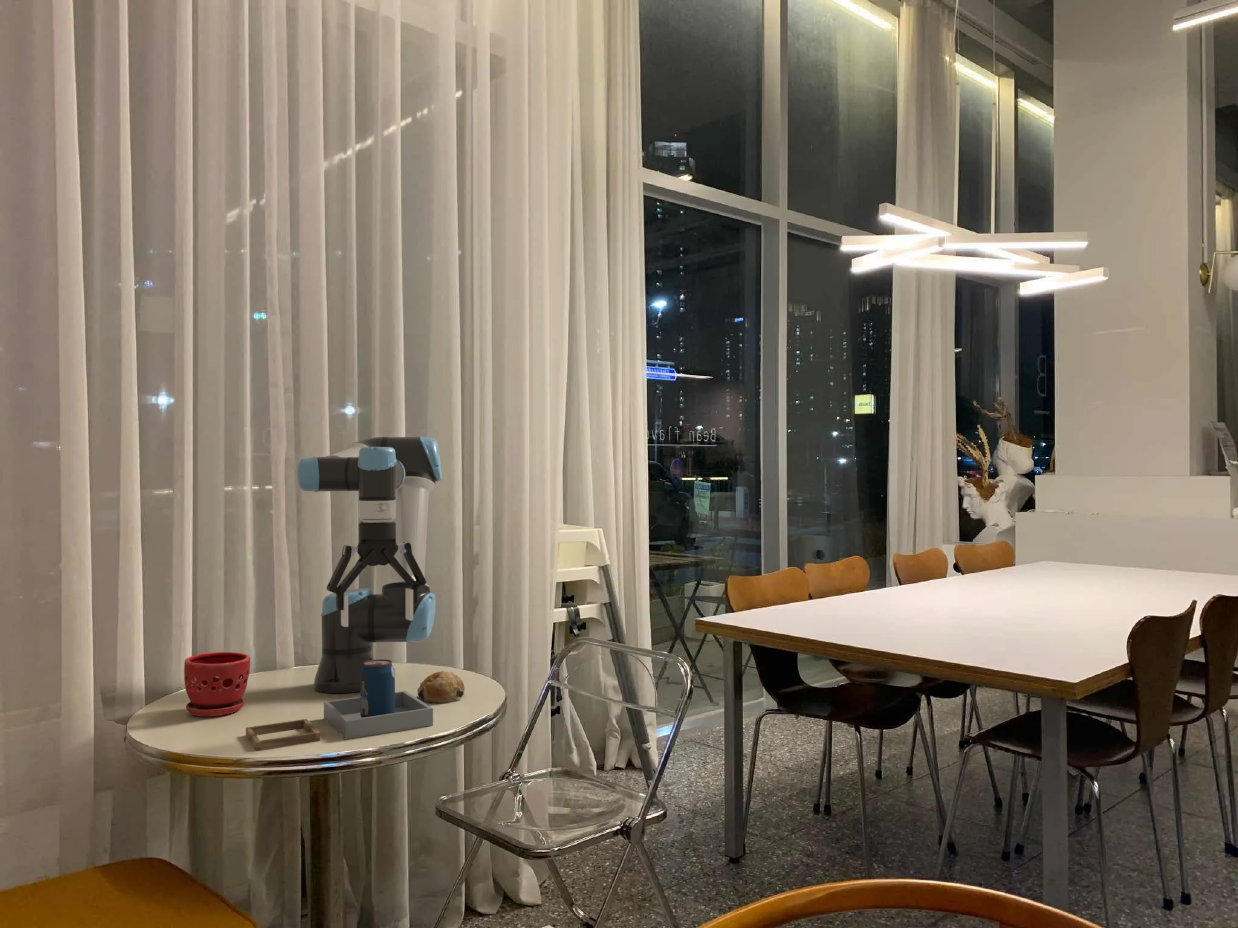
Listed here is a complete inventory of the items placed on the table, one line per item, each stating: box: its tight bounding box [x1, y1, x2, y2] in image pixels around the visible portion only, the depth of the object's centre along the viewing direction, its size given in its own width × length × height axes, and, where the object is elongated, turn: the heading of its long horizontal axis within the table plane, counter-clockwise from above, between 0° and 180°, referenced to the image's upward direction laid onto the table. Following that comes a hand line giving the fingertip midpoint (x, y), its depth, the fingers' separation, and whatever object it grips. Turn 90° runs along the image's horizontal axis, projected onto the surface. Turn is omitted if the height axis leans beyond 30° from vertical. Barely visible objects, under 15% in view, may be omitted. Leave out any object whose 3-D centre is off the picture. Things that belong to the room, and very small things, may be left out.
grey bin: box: [323, 690, 434, 740], centre depth 184 cm, size 18×18×4 cm
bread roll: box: [417, 670, 466, 704], centre depth 203 cm, size 10×10×8 cm
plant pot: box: [183, 651, 251, 718], centre depth 192 cm, size 13×13×12 cm
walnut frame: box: [245, 718, 321, 751], centre depth 173 cm, size 12×12×2 cm
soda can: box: [359, 658, 396, 718], centre depth 184 cm, size 7×7×12 cm
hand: (377, 622), depth 184 cm, fingers open, 13 cm apart
